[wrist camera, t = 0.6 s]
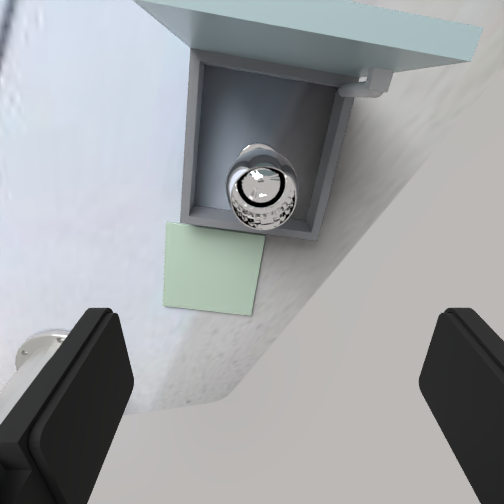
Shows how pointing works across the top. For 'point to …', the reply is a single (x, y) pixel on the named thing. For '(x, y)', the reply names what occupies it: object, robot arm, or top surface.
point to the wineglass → (261, 187)
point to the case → (302, 69)
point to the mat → (211, 268)
